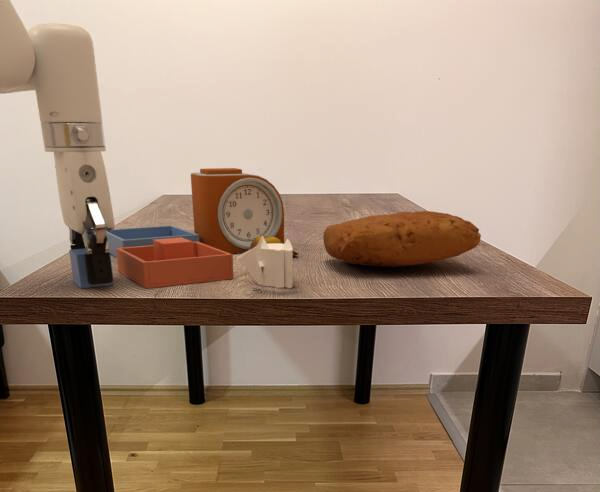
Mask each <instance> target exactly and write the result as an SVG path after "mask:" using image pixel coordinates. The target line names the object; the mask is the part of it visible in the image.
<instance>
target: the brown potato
mask: <svg viewBox="0 0 600 492" xmlns="http://www.w3.org/2000/svg"><path fill="white" fill-rule="evenodd" d="M479 231H480V229H479V228H478V226H476V225H475V224H474V223H473V222H471V221H469V220H466V219H463V218H462V217H460V216H457V215H453V214H450V213H446V212H445V213H444V212H438V211H430V210H429V211H427V210H422V211H414V212H412V211H400V212H395V213H390V214H389V213H388V214H376V215H368V216H365V217H360V218H356V219H350V220H347V221H345V222H341V223H335V224H331V225H328V226H327V227H326V228H325V230H324V232H323V236H322V238H323V239H322V241H323V246H324V249H325V251H326V253H327V254H328V255H329V256H330V257H331V258H334V259H336V260H338V261H342V262H346V263H349V264H351V265H362V266H367V267H381V268H382V267H383V268H401V267H402V268H403V267H409V266H418V265H423V264H429V263H433V262H438V261H442V260H447V259H452V258H456V257H459V256H460V255H462V254H464V253H467V252H469V251H472V250H474V249H475V248H477V246H479V244H480V242H481V239H482V237H481V236H482V234H481V233H480V232H479Z"/></svg>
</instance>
